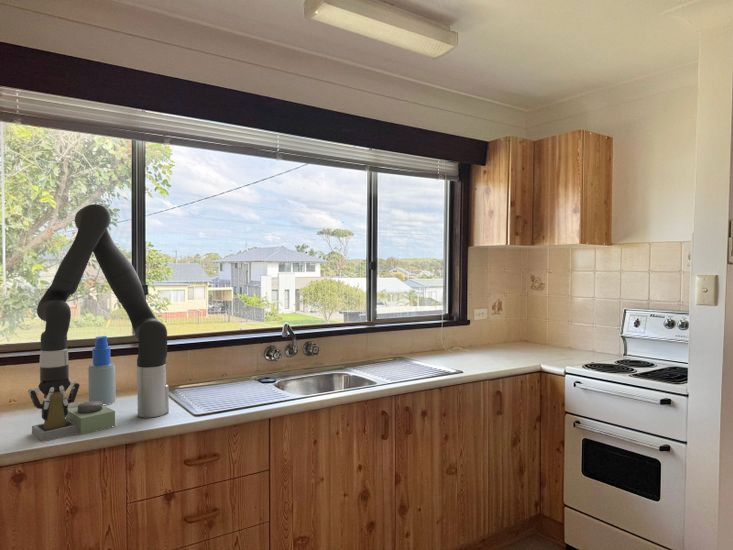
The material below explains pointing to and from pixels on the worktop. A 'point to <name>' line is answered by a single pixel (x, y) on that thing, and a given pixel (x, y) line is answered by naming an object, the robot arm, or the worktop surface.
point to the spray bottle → (101, 373)
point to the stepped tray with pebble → (79, 421)
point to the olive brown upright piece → (55, 412)
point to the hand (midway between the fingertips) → (55, 418)
